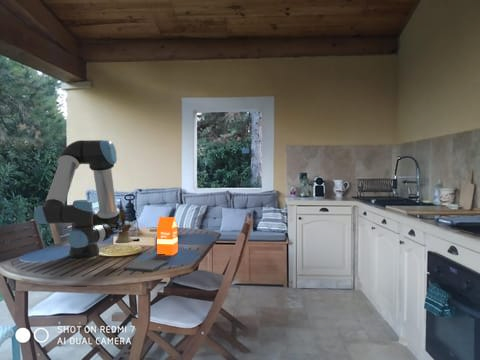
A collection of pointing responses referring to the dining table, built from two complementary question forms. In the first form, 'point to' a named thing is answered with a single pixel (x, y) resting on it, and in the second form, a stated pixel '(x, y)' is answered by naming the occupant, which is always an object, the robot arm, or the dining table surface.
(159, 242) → the orange juice
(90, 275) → the dining table surface
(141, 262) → the place mat
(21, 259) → the dining table surface
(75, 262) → the dining table surface
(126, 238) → the hand bell
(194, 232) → the dining table surface
